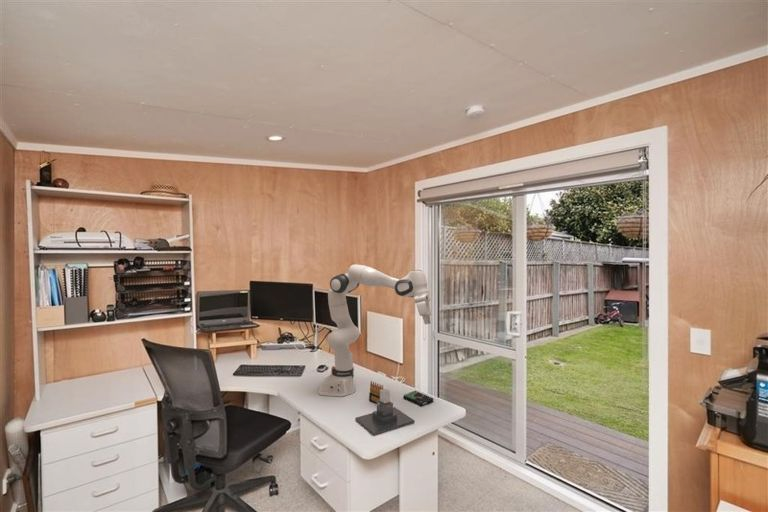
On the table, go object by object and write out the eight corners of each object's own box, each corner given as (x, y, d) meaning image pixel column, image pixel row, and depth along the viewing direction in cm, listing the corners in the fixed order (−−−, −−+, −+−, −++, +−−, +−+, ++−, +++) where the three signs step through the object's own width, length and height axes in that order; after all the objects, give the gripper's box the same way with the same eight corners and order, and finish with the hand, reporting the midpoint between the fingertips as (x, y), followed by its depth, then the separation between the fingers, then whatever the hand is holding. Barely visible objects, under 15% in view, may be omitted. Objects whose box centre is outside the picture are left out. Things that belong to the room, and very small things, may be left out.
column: (383, 420, 187) (383, 392, 187) (379, 418, 190) (379, 389, 190) (389, 419, 189) (389, 390, 189) (385, 416, 192) (386, 388, 192)
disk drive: (433, 403, 214) (415, 394, 225) (433, 398, 214) (415, 390, 225) (421, 408, 207) (402, 399, 218) (421, 403, 207) (402, 394, 218)
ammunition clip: (368, 401, 215) (369, 380, 214) (371, 400, 216) (371, 379, 215) (382, 406, 207) (382, 385, 207) (384, 405, 209) (384, 384, 208)
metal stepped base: (373, 436, 176) (373, 414, 175) (355, 420, 191) (355, 401, 190) (414, 423, 188) (414, 403, 188) (394, 409, 204) (394, 391, 203)
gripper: (419, 300, 214) (425, 324, 211) (413, 298, 194) (419, 325, 191) (430, 298, 212) (435, 322, 210) (425, 296, 193) (431, 323, 190)
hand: (427, 324), depth 200 cm, fingers open, 8 cm apart
